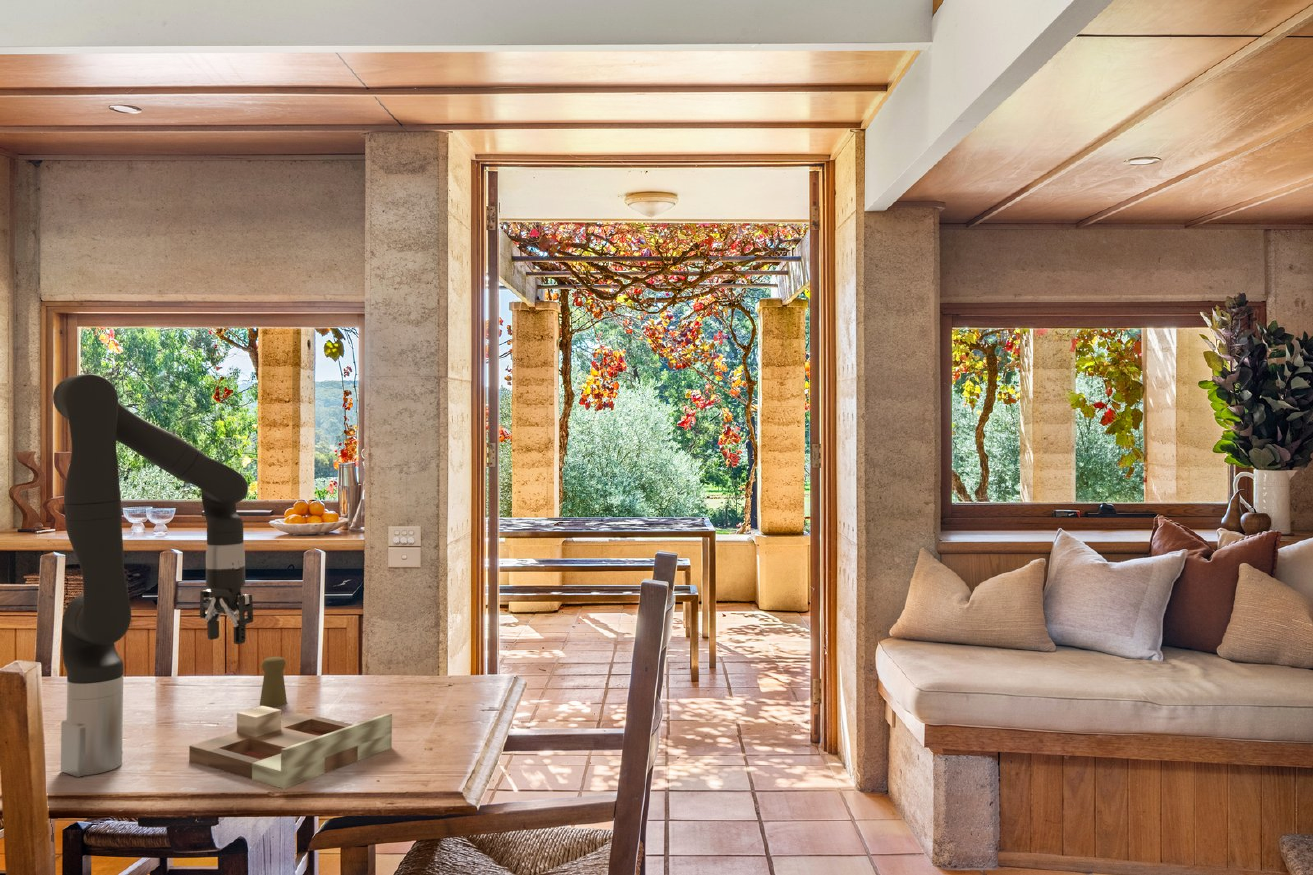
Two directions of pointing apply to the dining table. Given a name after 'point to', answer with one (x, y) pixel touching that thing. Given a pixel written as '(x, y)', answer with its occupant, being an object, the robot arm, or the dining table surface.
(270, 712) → the block
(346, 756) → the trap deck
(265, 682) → the cork
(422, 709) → the dining table surface
